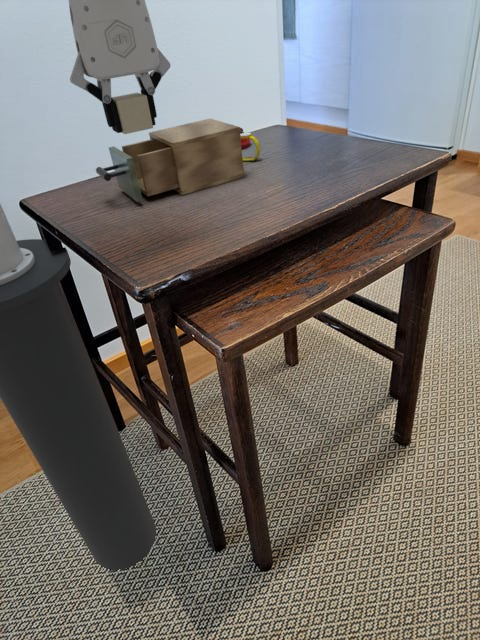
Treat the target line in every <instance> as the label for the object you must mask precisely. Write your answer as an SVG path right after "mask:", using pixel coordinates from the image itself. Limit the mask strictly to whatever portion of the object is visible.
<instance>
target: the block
mask: <svg viewBox="0 0 480 640" xmlns="http://www.w3.org/2000/svg"><path fill="white" fill-rule="evenodd" d="M111 97H112V99H113V102H114V103H116V106H117V110H118V114H119V118H120V122H121V126H122V132H121V133H122V134H123V135H127V134H128V135H129V134H133V133H137V132H142V131H146V130H150V129H151V130H152V129H154V125H152V120H151V115H150V110H149V105H148V100H147V95H143V94H141V92H132V93H127V94H122V95H116V96H111Z"/></svg>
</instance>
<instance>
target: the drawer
mask: <svg viewBox="0 0 480 640" xmlns="http://www.w3.org/2000/svg"><path fill="white" fill-rule="evenodd" d="M108 151H109V155H110V159H111V162H112V165H110V166H107V167H101V166H97V167H96V169H95V172H96V174H97V175H99V176H100V178H102V179H103V180H105V181H106V182H109V181H111V180H112V178H115V177H116V181H117V185H118V188H119V189H121V191H123V192H124V193H125V194H127V196H129V197H130V198H131V199H133V200H134V201H135V202H136V203H140V202H143V201H144V199H143V196H142V194H143V195H145V196H146V197H151V196H154V195H158V194H162V193H165V192H168V191H172V190H174V189H176V188H179V181H178V176H177V171H176V165H175V160H174V155H173V149H172V146H169V145H167V144H165V143H163V142H161V141H158V140H156V139H150V138H149V139H147V140H142V141H138V142H134V143H130V144H126V145H122V146H121V149H120V148H118V147H116V146H109V147H108ZM110 171H114V172H112V173H109V172H110Z"/></svg>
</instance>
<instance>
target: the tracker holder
mask: <svg viewBox="0 0 480 640" xmlns="http://www.w3.org/2000/svg"><path fill="white" fill-rule="evenodd" d="M231 125H233V124H231ZM238 127H239V128H240V134H242V133H245V131H244V129H243V128H242V127H241V126H238ZM250 144H251V139H250V138H245V139H241V148H242V149H246V148H248V147H249V146H250Z"/></svg>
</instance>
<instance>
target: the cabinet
mask: <svg viewBox="0 0 480 640" xmlns="http://www.w3.org/2000/svg"><path fill="white" fill-rule="evenodd" d="M239 127H240V126H238V125H234V124H232V125H231V124H230V123H227V122H223V121H222V120H221V121H220V120H217V119H214V118H206V119H201V120H197V121H194V122H189V123H184V124H179V125H176V126H172V127H166V128H163V129H159V130H154V131H149V132H148V135H149V140H150V139H156V140H158V141H161V142H163V143H165V144H167V145H169V146H172V149H173V155H174V160H175V165H176V171H177V176H178V181H179V188H176V189H173V191H174V192H177V193H178V194H180V195H181V196H184V195H188V194H191V193H195V192H198V191H201V190H204V189H208V188H211V187H214V186H215V187H216V186H218V185H222V184H226V183H229V182H232V181H235V180H238V179H242V178H245V169H244V161H243V158H242V156H243V148H241V138H240V128H241V127H240V128H239Z"/></svg>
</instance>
